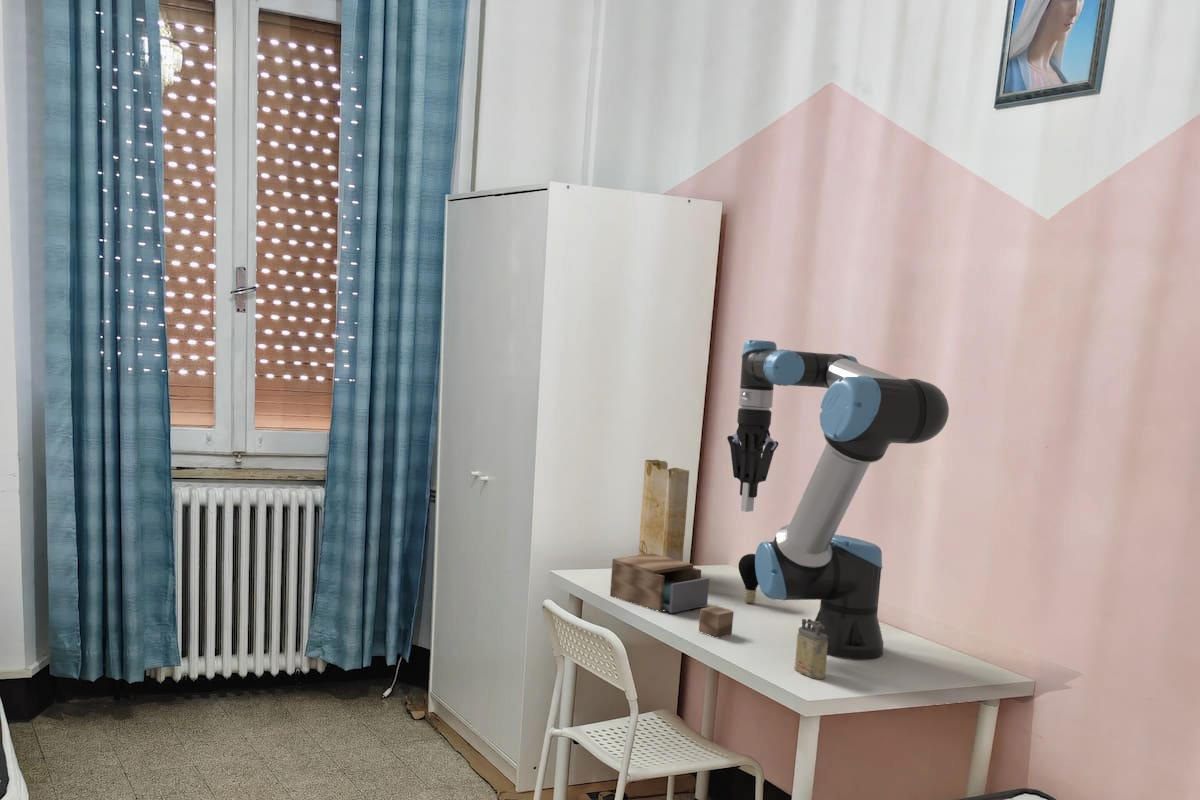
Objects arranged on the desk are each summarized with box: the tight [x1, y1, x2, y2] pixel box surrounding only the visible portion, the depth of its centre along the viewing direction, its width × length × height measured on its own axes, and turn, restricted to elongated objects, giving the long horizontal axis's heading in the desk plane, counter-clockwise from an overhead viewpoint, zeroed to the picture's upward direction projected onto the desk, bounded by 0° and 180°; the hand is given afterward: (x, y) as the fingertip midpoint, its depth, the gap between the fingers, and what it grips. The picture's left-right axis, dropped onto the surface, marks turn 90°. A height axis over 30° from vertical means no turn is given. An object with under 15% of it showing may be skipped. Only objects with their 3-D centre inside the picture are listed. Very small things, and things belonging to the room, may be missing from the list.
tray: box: [662, 577, 710, 614], centre depth 232 cm, size 18×13×6 cm
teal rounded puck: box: [663, 581, 679, 604], centre depth 231 cm, size 8×8×4 cm
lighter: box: [793, 618, 828, 680], centre depth 186 cm, size 7×4×10 cm, turn 28°
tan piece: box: [638, 459, 690, 562], centre depth 258 cm, size 23×6×30 cm, turn 13°
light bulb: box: [738, 553, 759, 604], centre depth 237 cm, size 7×7×12 cm
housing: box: [609, 553, 702, 612], centre depth 234 cm, size 16×14×9 cm
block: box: [698, 605, 734, 638], centre depth 209 cm, size 5×5×5 cm
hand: (747, 510), depth 224 cm, fingers closed
